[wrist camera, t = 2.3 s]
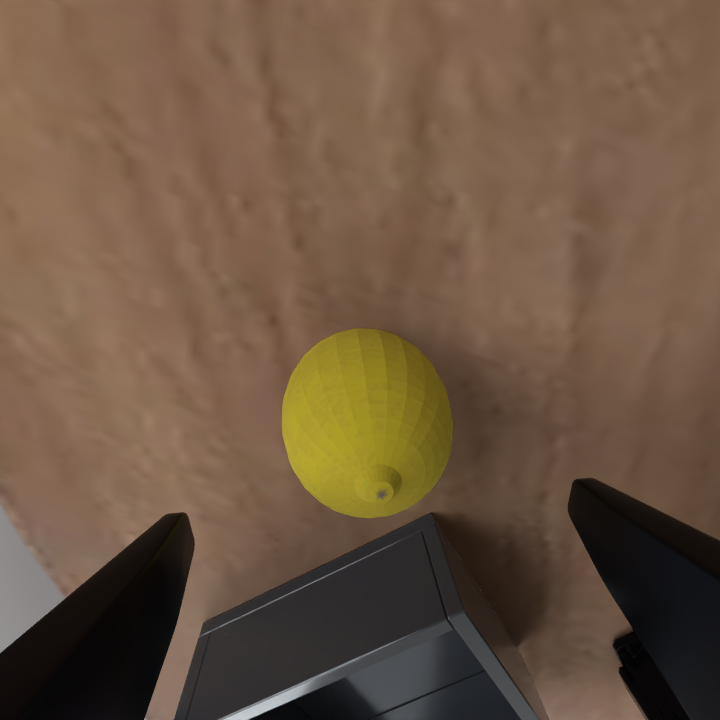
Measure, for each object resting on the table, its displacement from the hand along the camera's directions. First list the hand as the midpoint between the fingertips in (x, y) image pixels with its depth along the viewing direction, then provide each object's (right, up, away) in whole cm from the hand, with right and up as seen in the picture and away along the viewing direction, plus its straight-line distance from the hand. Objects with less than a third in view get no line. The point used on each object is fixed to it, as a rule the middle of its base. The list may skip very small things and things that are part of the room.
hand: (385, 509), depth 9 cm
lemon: (-1, +3, +8) cm, 9 cm away
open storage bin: (0, -13, +14) cm, 20 cm away
